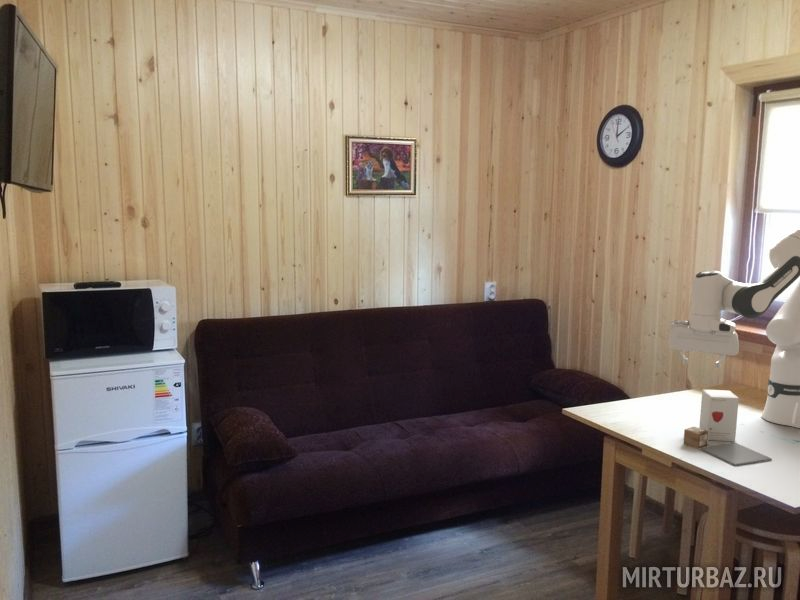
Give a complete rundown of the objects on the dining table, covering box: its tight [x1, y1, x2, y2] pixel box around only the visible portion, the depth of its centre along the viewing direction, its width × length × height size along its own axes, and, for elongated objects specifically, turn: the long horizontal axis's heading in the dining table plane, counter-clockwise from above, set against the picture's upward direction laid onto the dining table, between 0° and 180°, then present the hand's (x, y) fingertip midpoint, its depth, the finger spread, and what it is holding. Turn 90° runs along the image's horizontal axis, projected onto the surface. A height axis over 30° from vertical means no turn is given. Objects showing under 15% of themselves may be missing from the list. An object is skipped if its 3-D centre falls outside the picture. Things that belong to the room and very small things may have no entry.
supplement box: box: [698, 389, 740, 442], centre depth 218 cm, size 9×9×15 cm
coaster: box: [699, 442, 773, 467], centre depth 203 cm, size 14×14×1 cm
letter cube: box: [683, 426, 709, 450], centre depth 211 cm, size 5×5×5 cm
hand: (701, 365), depth 207 cm, fingers open, 8 cm apart
